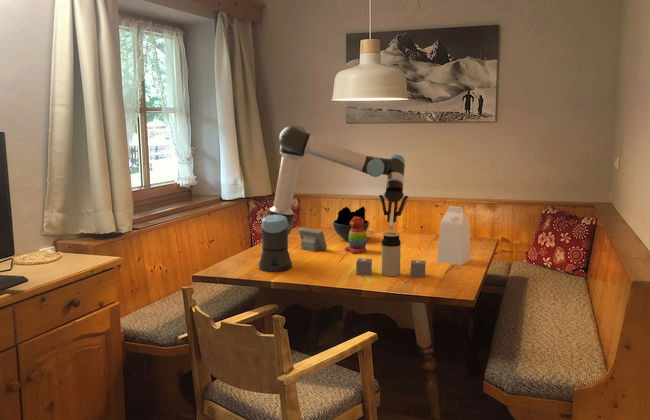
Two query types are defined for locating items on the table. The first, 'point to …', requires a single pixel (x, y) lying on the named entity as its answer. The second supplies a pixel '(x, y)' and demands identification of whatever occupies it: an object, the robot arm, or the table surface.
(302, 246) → the digital clock
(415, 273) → the dotted block right
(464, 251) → the milk
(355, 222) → the stacking bear
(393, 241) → the travel mug
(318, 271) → the table surface
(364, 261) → the dotted block left
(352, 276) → the table surface
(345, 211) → the bowl of black rocks
